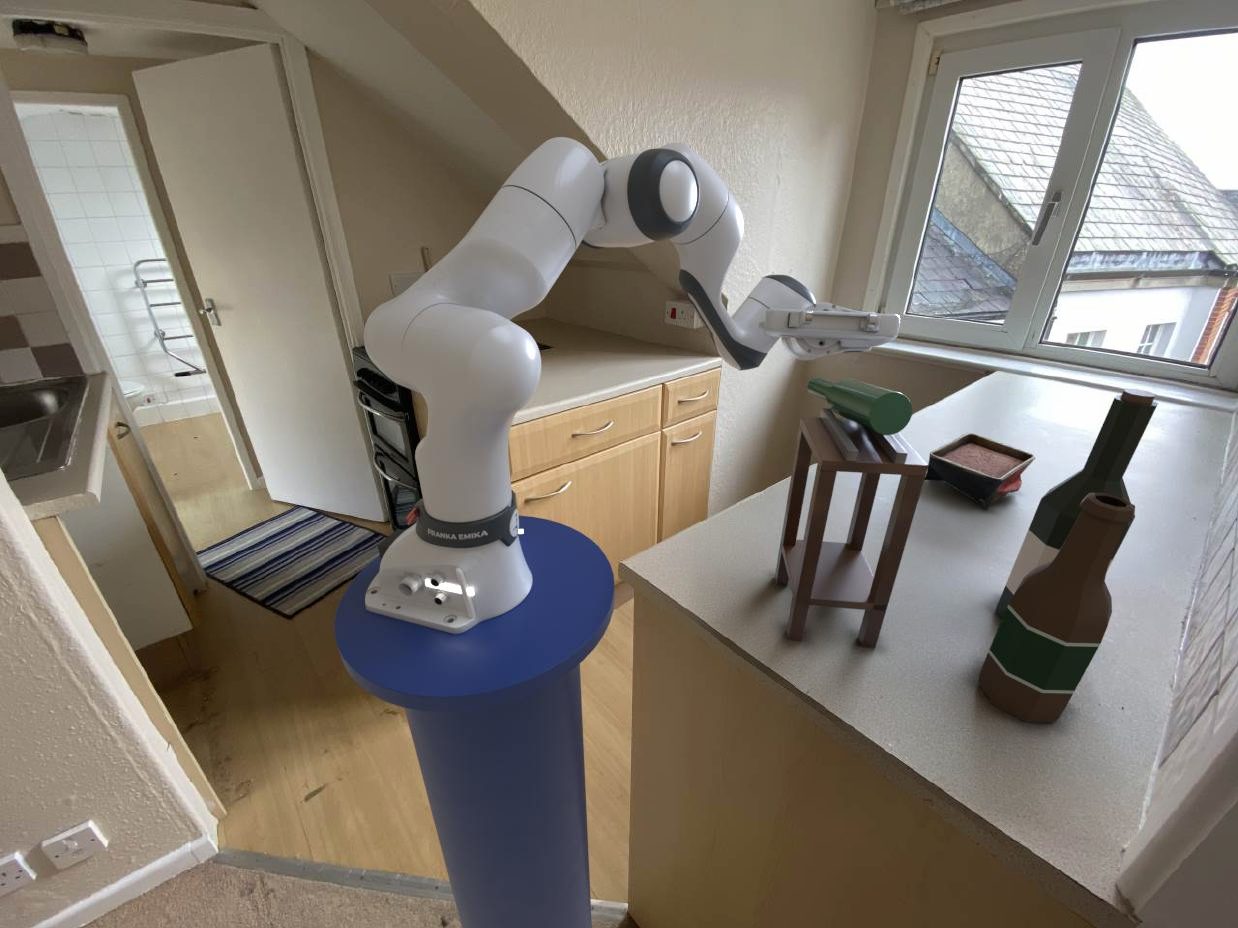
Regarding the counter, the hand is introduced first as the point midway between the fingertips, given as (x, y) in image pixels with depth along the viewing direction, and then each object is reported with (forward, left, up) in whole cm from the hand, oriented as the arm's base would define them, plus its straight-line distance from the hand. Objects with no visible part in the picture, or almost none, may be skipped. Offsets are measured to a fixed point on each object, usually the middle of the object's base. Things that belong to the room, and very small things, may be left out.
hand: (840, 318), depth 77 cm
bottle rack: (-3, -26, -32) cm, 42 cm away
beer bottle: (+15, -37, -32) cm, 51 cm away
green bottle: (-3, -21, -8) cm, 22 cm away
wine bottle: (+23, -25, -32) cm, 47 cm away
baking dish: (+31, +11, -32) cm, 46 cm away
